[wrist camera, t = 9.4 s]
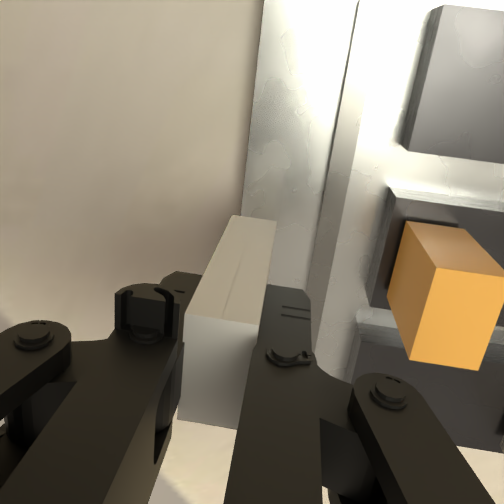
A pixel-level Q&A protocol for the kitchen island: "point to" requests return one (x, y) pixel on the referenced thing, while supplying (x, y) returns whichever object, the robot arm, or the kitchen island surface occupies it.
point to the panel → (381, 175)
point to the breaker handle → (445, 295)
